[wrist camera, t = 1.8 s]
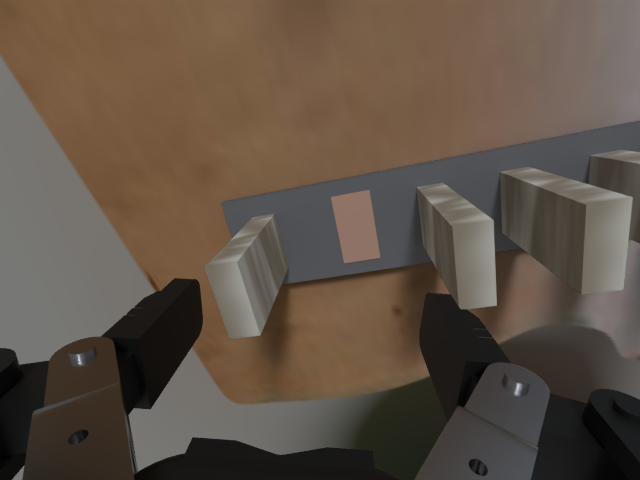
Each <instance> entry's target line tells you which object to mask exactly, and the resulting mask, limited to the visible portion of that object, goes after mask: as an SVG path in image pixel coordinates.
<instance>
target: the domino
mask: <svg viewBox="0 0 640 480" xmlns="http://www.w3.org/2000/svg"><path fill="white" fill-rule="evenodd" d="M204 268H205V270H206V273H207V276H208V279H209V282H210V284H211V287H212V290H213V293H214V296H215V298H216V301H217V304H218V307H219V310H220V312H221V315H222V318H223V321H224V324H225V327H226V329H227V332H228V335H229V338H230V339H236V338H244V337H252V336H260V335H261V333H262V330H263V328H264V325H265V323H266V321H267V318H268V316H269V313H270V311H271V309H272V306H273V304H274V301H275V299H276V297H277V294H278V292H279V289H280V287H281V284H282V282H283V280H284V277H285V275H286V272H287V270H288V268H289V265H288V261H287V257H286V253H285V250H284V246H283V242H282V238H281V234H280V231H279V227H278V223H277V219H276V215H275V213H274V214H269V215H263V216H258V217H253V218H252V219H251V220H250V221H249V222H248V223H247V224H246V225H245V226H244V227H243V228H242V229H241V230H240V231H239V232H238V233H237V234H236V235H235V236H234V237H233V238H232V239H231V240H230V241H229V242H228V243H227V245H226V246H225V247H224V248H223V249H222V250H221V251H220V252H219V253H218V254H217V255H216V256H215V257H214V258H213V259H212V260H211V261H210V262H209V263H208V264H207V265H206V266H205V267H204Z"/></svg>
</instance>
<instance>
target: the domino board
mask: <svg viewBox="0 0 640 480" xmlns="http://www.w3.org/2000/svg"><path fill="white" fill-rule="evenodd" d="M617 150H626V151H634V152H640V121H635V122H630V123H625V124H620V125H615V126H610V127H605V128H599V129H594V130H589V131H584V132H579V133H574V134H569V135H563V136H558V137H553V138H548V139H543V140H538V141H533V142H527V143H522V144H517V145H512V146H507V147H502V148H497V149H491V150H486V151H481V152H476V153H471V154H466V155H461V156H455V157H450V158H445V159H440V160H435V161H430V162H425V163H419V164H414V165H409V166H404V167H399V168H394V169H389V170H383V171H378V172H373V173H368V174H363V175H358V176H353V177H347V178H342V179H337V180H332V181H327V182H322V183H317V184H311V185H306V186H301V187H296V188H291V189H286V190H281V191H275V192H270V193H265V194H260V195H255V196H250V197H245V198H239V199H234V200H229V201H225V202H223V203H222V207H223V211H224V214H225V217H226V220H227V223H228V226H229V230H230V233H231V236H232V238H233V237H234V236H235V235H236V234H237V233H238V232H239V231H240V230H241V229H242V228H243V227H244V226H245V225H246V224H247V223H248V222H249V221H250V220H251V219H252V218H253V217H258V216H263V215H269V214H274V213H275V215H276V219H277V223H278V227H279V231H280V234H281V238H282V242H283V246H284V250H285V253H286V257H287V261H288V265H289V268H288V270H287V272H286V275H285V277H284V280H283V282H282V284H289V283H296V282H303V281H309V280H316V279H323V278H329V277H336V276H343V275H350V274H356V273H363V272H370V271H376V270H383V269H390V268H396V267H403V266H410V265H417V264H423V263H430V262H432V260H431V258H430V257H429V255H428V253H427V251H426V249H425V247H424V246H423V238H422V229H421V221H420V212H419V203H418V194H417V187H421V186H427V185H432V184H437V183H444V184H445V185H447V186H448V187H449V188H451V189H452V190H454V191H455V192H456V193H458V194H459V195H460V196H462V197H463V198H464V199H466V200H467V201H468V202H470V203H471V204H472V205H474V206H475V207H477V208H478V209H479V210H481V211H482V212H483V213H485V214H486V215H487V216H489V217H490V218H491V219H493V220H494V245H495V253H497V252H504V251H510V250H517V249H522V248H521V247H519V246H518V245H517V244H516V243H514V242H513V241H512V240H510V239H509V238H508V237H507V236H505V235H504V234H503V233H502V213H501V180H500V172H503V171H508V170H514V169H519V168H524V167H531V168H534V169H538V170H541V171H545V172H548V173H551V174H555V175H558V176H562V177H565V178H568V179H572V180H575V181H579V182H582V183H586V184H589V171H590V155H595V154H601V153H606V152H611V151H617ZM282 284H281V285H282Z"/></svg>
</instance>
